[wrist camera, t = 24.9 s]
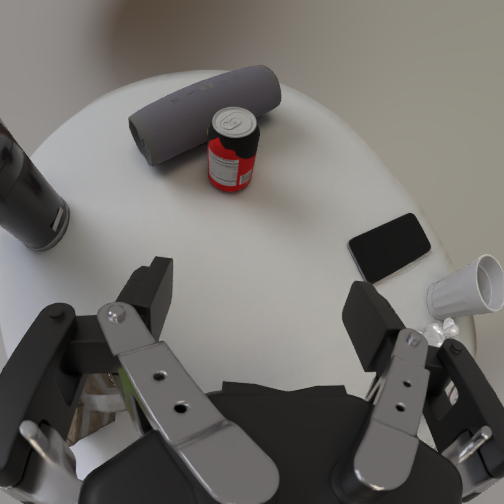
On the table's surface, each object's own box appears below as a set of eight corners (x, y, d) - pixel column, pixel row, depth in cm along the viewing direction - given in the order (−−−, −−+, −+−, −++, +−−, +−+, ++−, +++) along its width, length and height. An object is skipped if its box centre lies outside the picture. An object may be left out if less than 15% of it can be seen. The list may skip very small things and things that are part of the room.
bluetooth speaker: (159, 184, 41) (146, 140, 32) (134, 146, 43) (120, 103, 33) (278, 124, 47) (289, 80, 38) (246, 94, 49) (252, 52, 40)
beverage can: (259, 179, 43) (273, 124, 32) (227, 203, 41) (231, 149, 30) (231, 154, 44) (237, 97, 33) (199, 175, 42) (196, 118, 31)
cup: (460, 293, 41) (509, 273, 29) (447, 333, 38) (501, 322, 27) (431, 268, 41) (480, 242, 30) (416, 309, 39) (470, 292, 28)
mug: (61, 431, 27) (13, 450, 16) (45, 357, 31) (-9, 353, 19) (164, 428, 30) (141, 459, 19) (145, 346, 33) (112, 343, 22)
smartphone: (346, 240, 40) (412, 210, 44) (344, 242, 41) (410, 212, 44) (369, 286, 38) (432, 248, 42) (367, 287, 39) (430, 250, 42)
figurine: (372, 352, 36) (426, 348, 25) (412, 312, 39) (466, 295, 27) (389, 377, 35) (444, 379, 24) (426, 336, 38) (481, 325, 26)
